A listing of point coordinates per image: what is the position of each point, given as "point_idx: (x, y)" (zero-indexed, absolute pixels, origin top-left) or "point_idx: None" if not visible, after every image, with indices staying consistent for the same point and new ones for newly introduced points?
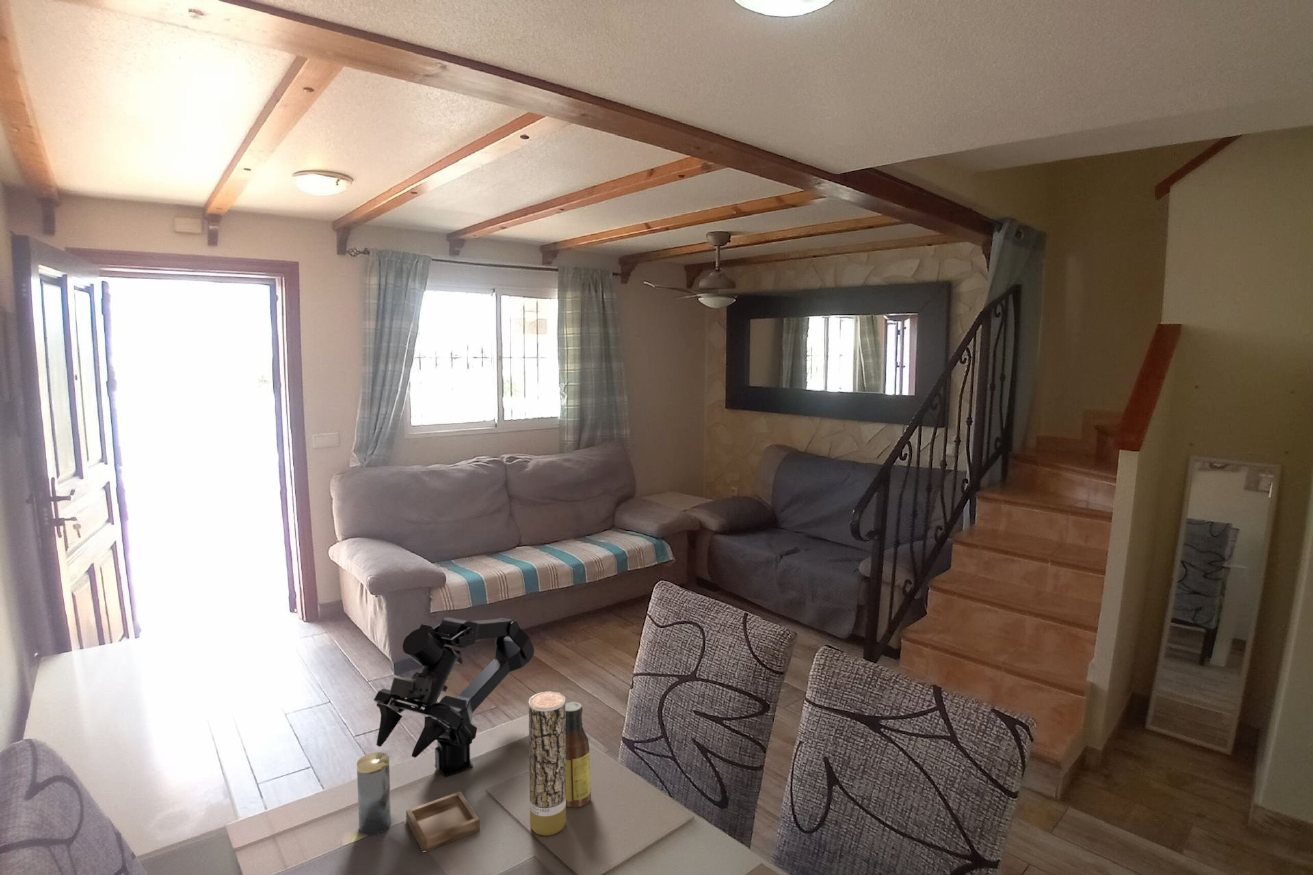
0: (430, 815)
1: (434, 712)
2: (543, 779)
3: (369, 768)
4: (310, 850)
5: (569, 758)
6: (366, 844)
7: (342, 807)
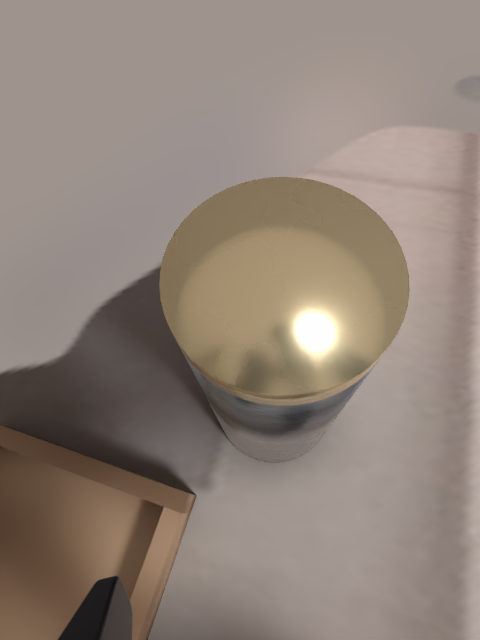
0: (122, 578)
1: None
2: None
3: (202, 211)
4: None
5: None
6: None
7: (475, 384)
